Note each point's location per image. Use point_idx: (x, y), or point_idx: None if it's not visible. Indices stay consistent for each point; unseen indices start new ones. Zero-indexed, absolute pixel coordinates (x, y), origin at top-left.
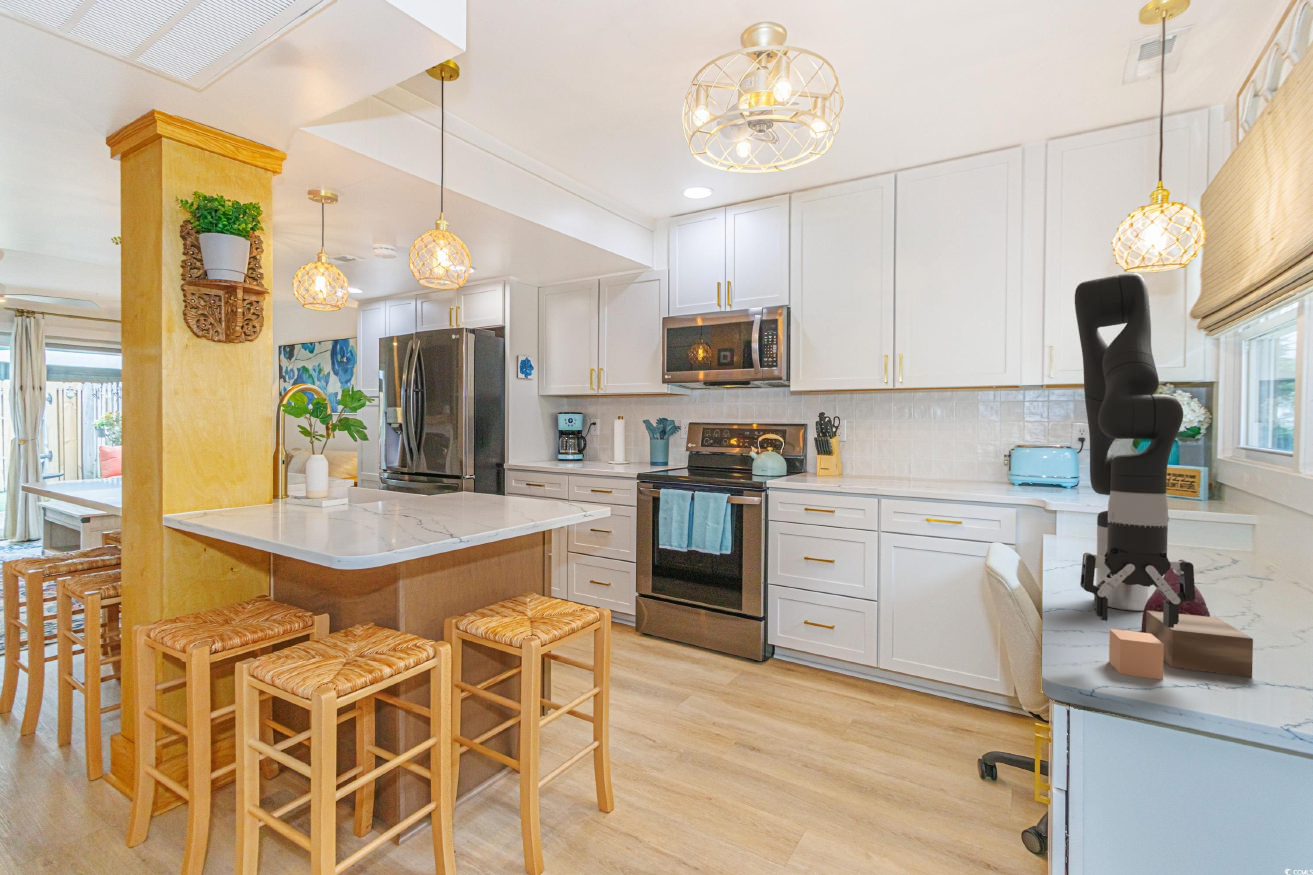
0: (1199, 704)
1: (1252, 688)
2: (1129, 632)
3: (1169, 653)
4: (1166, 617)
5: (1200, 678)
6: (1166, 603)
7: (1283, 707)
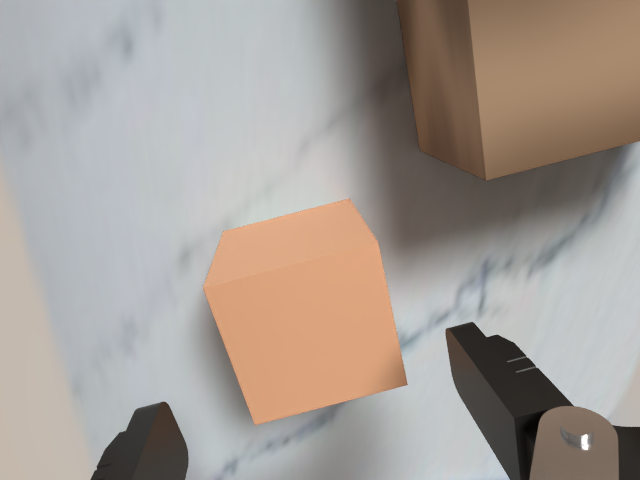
0: (429, 444)
1: (603, 224)
2: (288, 291)
3: (430, 124)
4: (470, 393)
5: (482, 223)
6: (514, 458)
7: (616, 340)
